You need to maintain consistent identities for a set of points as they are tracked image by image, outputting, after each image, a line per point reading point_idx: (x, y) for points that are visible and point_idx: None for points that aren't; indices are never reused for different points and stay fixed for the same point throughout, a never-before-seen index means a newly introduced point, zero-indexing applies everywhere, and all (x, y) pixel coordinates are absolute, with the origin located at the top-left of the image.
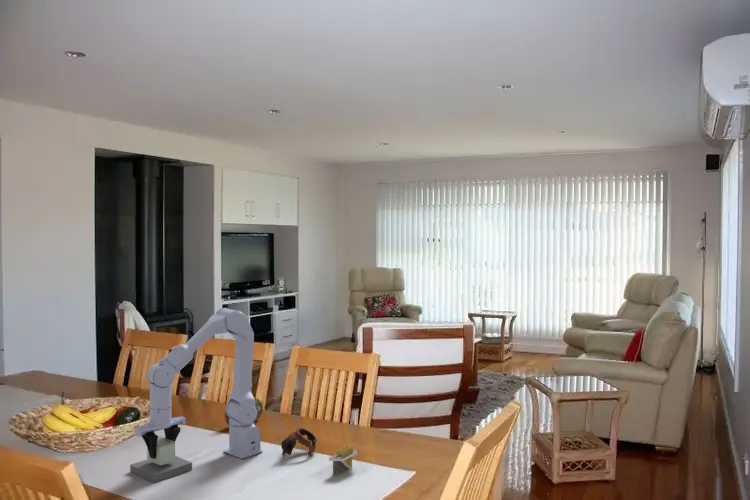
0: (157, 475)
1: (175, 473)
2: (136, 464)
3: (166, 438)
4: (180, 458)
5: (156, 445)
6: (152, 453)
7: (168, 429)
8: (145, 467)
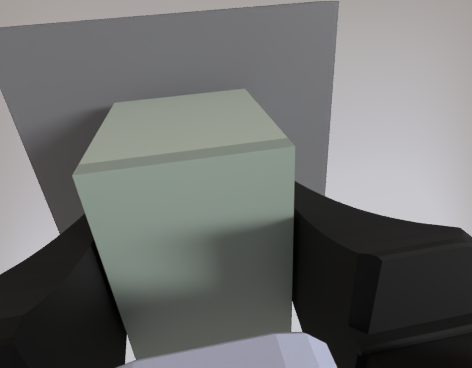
0: None
1: None
2: (31, 67)
3: (288, 249)
4: (321, 167)
5: (125, 341)
6: None
7: (343, 362)
8: None
